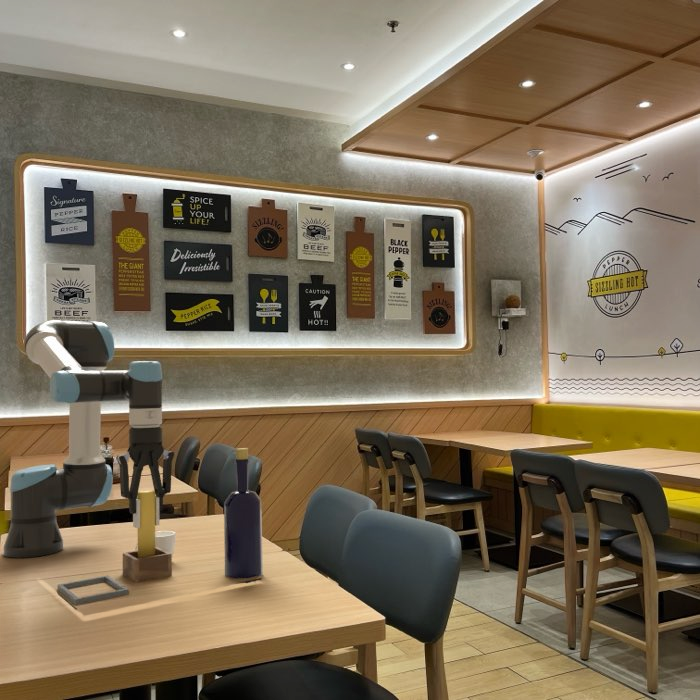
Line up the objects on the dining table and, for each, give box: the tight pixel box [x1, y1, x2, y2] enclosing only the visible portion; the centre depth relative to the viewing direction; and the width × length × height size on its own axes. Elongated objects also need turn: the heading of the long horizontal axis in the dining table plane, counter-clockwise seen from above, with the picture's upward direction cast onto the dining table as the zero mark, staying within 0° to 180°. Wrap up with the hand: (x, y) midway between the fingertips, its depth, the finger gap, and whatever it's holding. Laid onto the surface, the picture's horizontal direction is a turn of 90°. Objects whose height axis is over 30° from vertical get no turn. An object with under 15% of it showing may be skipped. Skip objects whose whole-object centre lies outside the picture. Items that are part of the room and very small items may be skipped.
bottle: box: [223, 447, 264, 584], centre depth 164 cm, size 9×9×30 cm
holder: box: [122, 547, 173, 583], centre depth 164 cm, size 9×9×6 cm
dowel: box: [137, 490, 156, 558], centre depth 164 cm, size 4×4×15 cm
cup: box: [134, 530, 177, 557], centre depth 175 cm, size 7×10×8 cm
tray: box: [56, 575, 130, 610], centre depth 151 cm, size 14×11×2 cm
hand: (146, 525), depth 164 cm, fingers closed on dowel, 4 cm apart
